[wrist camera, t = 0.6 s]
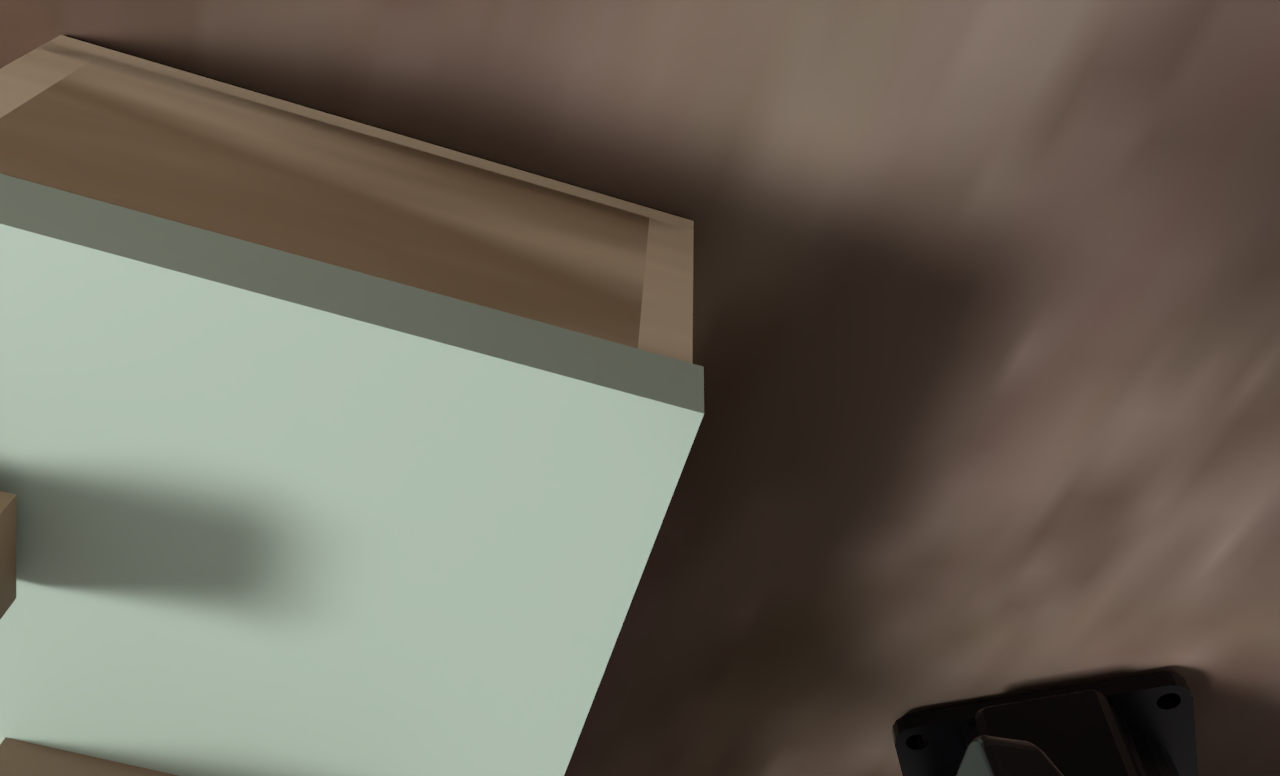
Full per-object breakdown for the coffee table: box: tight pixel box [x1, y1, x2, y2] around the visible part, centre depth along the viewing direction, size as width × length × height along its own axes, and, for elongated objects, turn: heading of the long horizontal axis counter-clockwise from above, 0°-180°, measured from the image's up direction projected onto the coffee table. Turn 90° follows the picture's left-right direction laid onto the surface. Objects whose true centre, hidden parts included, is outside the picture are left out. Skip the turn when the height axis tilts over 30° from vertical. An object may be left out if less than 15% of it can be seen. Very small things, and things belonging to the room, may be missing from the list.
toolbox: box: [0, 35, 694, 364], centre depth 21 cm, size 22×17×9 cm
